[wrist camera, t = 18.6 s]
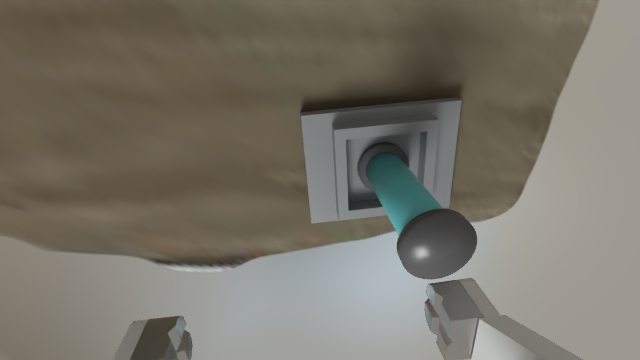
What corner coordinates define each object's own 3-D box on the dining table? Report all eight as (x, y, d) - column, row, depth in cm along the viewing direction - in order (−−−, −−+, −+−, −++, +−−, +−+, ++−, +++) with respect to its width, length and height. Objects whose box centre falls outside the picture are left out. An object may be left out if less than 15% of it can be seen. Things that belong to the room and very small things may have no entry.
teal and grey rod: (357, 191, 41) (400, 284, 27) (356, 145, 39) (402, 221, 24) (405, 185, 42) (471, 273, 27) (407, 139, 39) (481, 210, 25)
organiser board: (310, 217, 44) (312, 232, 41) (300, 112, 38) (301, 121, 35) (443, 201, 45) (455, 215, 42) (455, 97, 39) (470, 104, 36)
